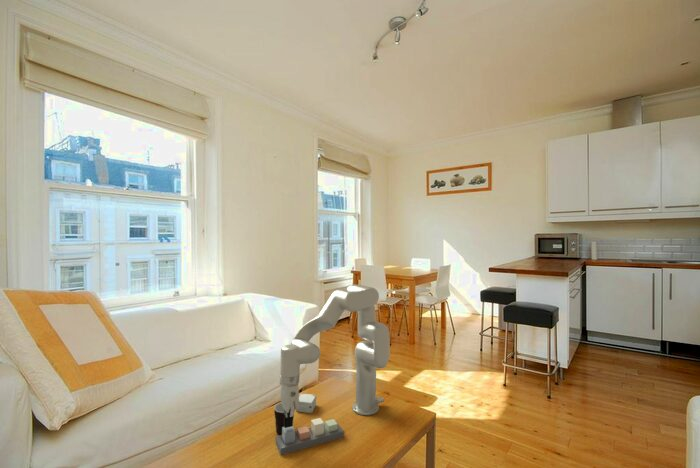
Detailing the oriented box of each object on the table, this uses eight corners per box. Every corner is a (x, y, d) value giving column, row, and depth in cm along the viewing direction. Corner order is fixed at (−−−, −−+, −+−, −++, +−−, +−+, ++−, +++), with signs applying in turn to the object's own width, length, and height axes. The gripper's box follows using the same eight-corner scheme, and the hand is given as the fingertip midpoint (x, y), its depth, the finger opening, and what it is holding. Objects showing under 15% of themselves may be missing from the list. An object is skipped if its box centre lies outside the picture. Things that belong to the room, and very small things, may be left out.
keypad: (335, 426, 138) (335, 420, 138) (343, 437, 131) (343, 431, 131) (275, 442, 126) (275, 436, 127) (280, 455, 119) (280, 448, 119)
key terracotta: (306, 437, 130) (306, 425, 130) (309, 442, 127) (309, 431, 127) (296, 439, 128) (296, 428, 128) (299, 445, 125) (300, 433, 125)
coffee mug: (289, 438, 129) (290, 413, 130) (269, 435, 131) (270, 410, 131) (300, 422, 141) (300, 399, 141) (281, 420, 142) (282, 397, 143)
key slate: (291, 436, 127) (292, 424, 127) (294, 442, 124) (295, 430, 124) (281, 438, 126) (282, 427, 126) (284, 444, 122) (284, 432, 122)
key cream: (320, 428, 133) (320, 417, 133) (323, 434, 129) (324, 422, 129) (310, 431, 131) (311, 420, 131) (314, 436, 127) (314, 425, 128)
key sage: (333, 429, 136) (333, 418, 136) (337, 434, 132) (337, 423, 132) (324, 432, 134) (324, 421, 134) (328, 437, 130) (328, 426, 130)
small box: (295, 411, 150) (295, 400, 150) (301, 403, 158) (301, 392, 158) (311, 413, 148) (311, 402, 148) (316, 405, 156) (316, 394, 156)
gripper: (305, 384, 120) (303, 434, 120) (293, 369, 133) (291, 414, 133) (285, 388, 117) (283, 439, 116) (275, 372, 130) (273, 418, 130)
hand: (288, 426), depth 125 cm, fingers closed
